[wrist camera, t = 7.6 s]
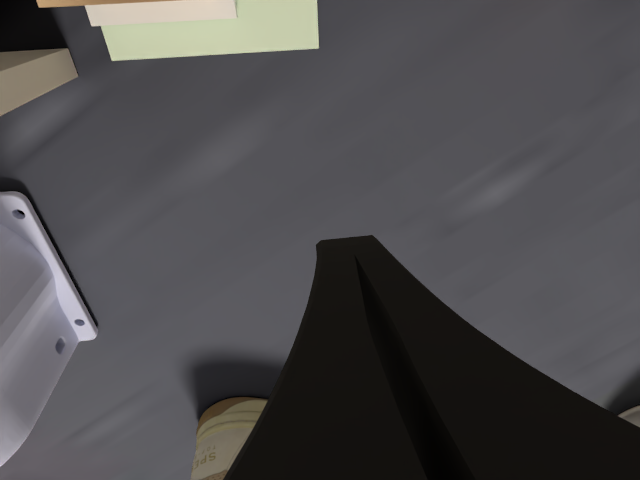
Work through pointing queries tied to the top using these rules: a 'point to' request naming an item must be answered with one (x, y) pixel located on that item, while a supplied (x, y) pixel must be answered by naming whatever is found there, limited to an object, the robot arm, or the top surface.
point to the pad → (221, 32)
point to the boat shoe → (224, 435)
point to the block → (87, 2)
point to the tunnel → (32, 75)
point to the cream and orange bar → (161, 12)
